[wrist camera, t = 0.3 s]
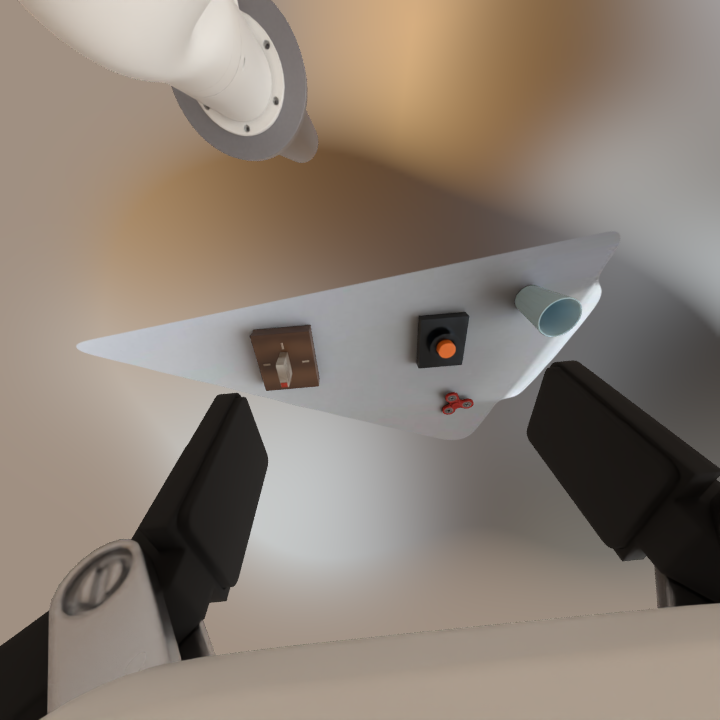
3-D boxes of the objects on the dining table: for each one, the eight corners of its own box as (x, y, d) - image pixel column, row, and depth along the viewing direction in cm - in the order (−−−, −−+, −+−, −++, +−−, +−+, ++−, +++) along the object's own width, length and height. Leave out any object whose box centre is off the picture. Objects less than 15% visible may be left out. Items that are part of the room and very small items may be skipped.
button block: (418, 315, 61) (423, 323, 58) (465, 312, 61) (472, 319, 58) (416, 363, 67) (420, 372, 64) (458, 359, 68) (464, 369, 64)
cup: (554, 286, 59) (591, 304, 51) (531, 319, 63) (562, 341, 54) (524, 274, 58) (557, 292, 49) (502, 309, 62) (529, 330, 53)
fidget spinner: (451, 393, 70) (450, 389, 71) (432, 410, 74) (432, 406, 75) (476, 404, 73) (475, 400, 74) (456, 419, 77) (455, 415, 78)
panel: (253, 329, 60) (249, 336, 58) (310, 324, 61) (309, 331, 58) (268, 383, 68) (265, 391, 65) (319, 378, 68) (318, 386, 65)
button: (437, 340, 60) (439, 344, 59) (453, 338, 60) (456, 342, 59) (435, 354, 62) (438, 358, 61) (452, 353, 62) (454, 357, 61)
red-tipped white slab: (279, 352, 60) (275, 365, 56) (287, 351, 60) (283, 365, 56) (285, 373, 63) (281, 388, 59) (292, 373, 63) (288, 387, 59)
